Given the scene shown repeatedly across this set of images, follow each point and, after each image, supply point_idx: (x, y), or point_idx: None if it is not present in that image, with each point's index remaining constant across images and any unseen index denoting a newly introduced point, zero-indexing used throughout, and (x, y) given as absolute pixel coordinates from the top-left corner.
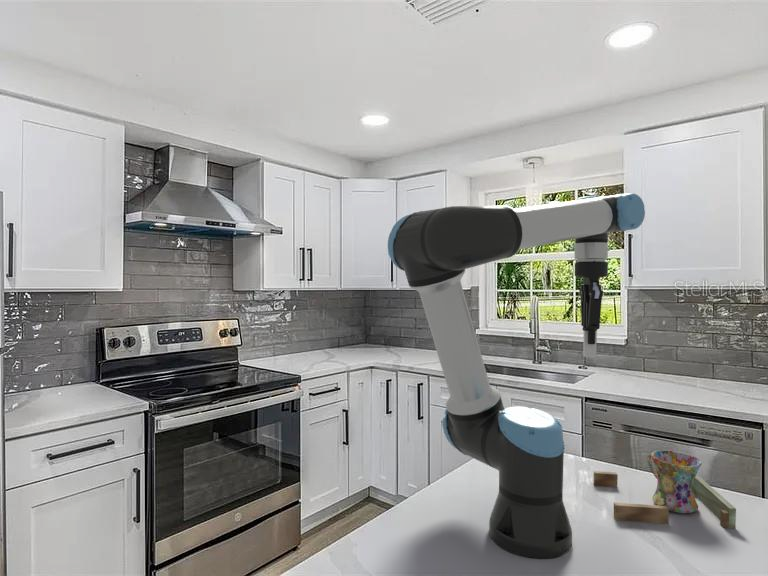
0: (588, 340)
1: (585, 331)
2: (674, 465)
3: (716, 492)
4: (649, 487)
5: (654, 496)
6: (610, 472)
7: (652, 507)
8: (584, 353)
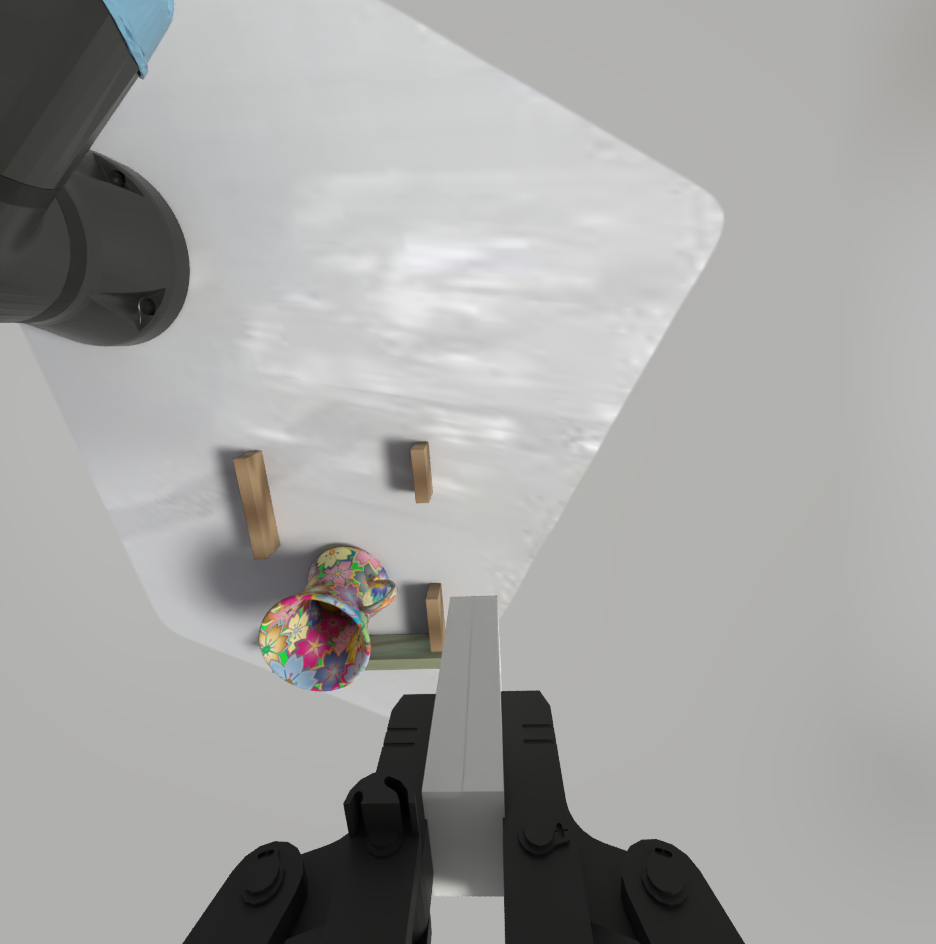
0: (408, 721)
1: (423, 786)
2: (260, 626)
3: None
4: (437, 560)
5: (345, 553)
6: (424, 489)
7: (249, 530)
8: (458, 612)
